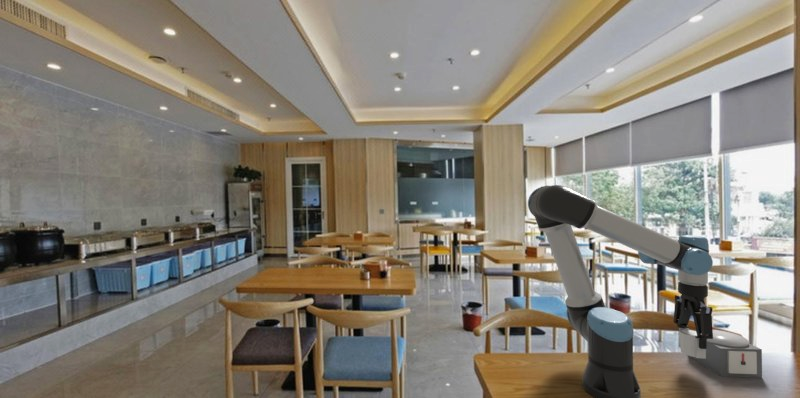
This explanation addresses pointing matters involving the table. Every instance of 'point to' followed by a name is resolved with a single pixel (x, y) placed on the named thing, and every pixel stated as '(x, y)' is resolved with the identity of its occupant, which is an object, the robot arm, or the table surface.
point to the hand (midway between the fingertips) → (691, 352)
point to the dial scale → (732, 356)
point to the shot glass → (687, 341)
